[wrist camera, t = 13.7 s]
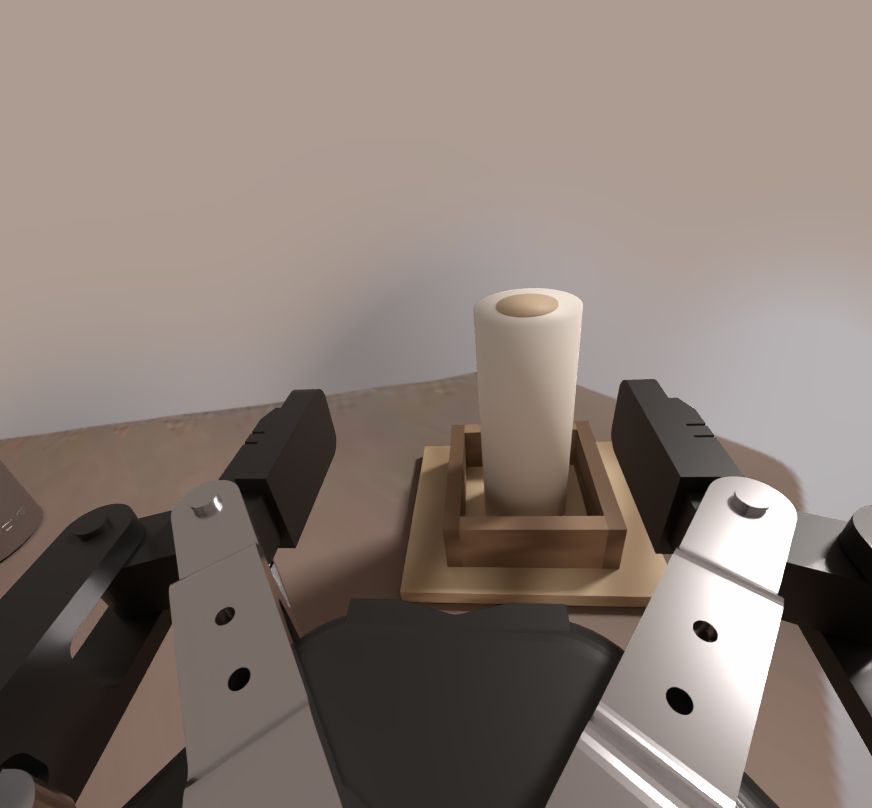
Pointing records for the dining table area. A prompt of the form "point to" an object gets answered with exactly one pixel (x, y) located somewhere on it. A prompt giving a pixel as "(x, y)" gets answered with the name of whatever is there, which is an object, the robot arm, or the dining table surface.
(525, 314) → the paper towel roll
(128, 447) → the dining table surface
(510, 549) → the open wooden box
